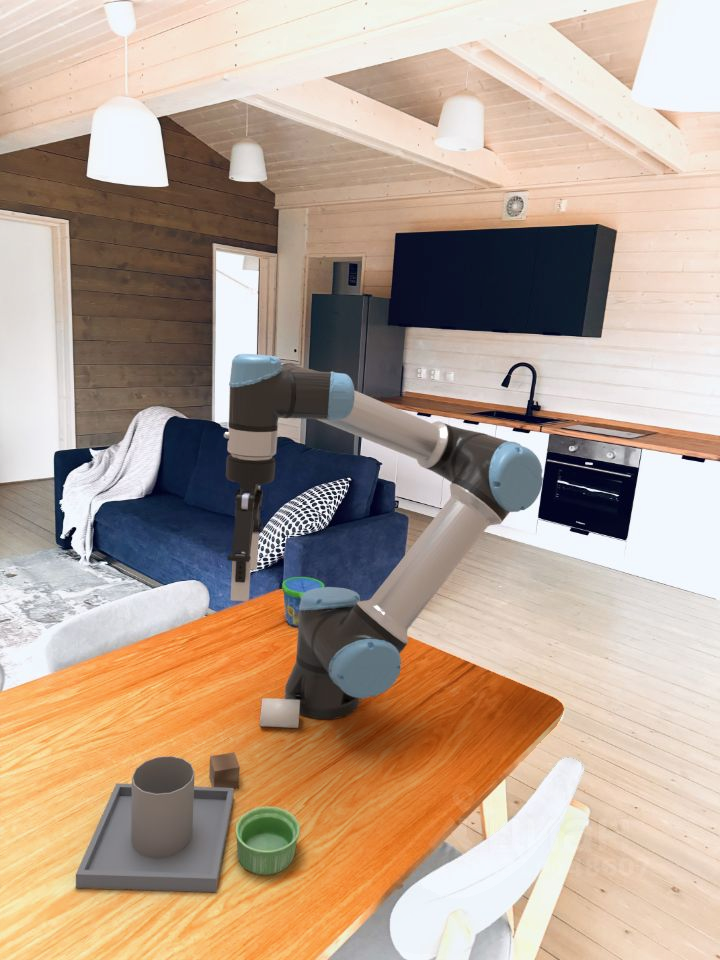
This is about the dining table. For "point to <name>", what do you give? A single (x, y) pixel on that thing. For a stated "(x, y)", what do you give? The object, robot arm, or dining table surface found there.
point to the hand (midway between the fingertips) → (244, 583)
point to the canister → (280, 713)
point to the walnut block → (224, 771)
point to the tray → (183, 871)
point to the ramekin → (266, 840)
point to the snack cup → (296, 595)
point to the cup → (162, 806)
